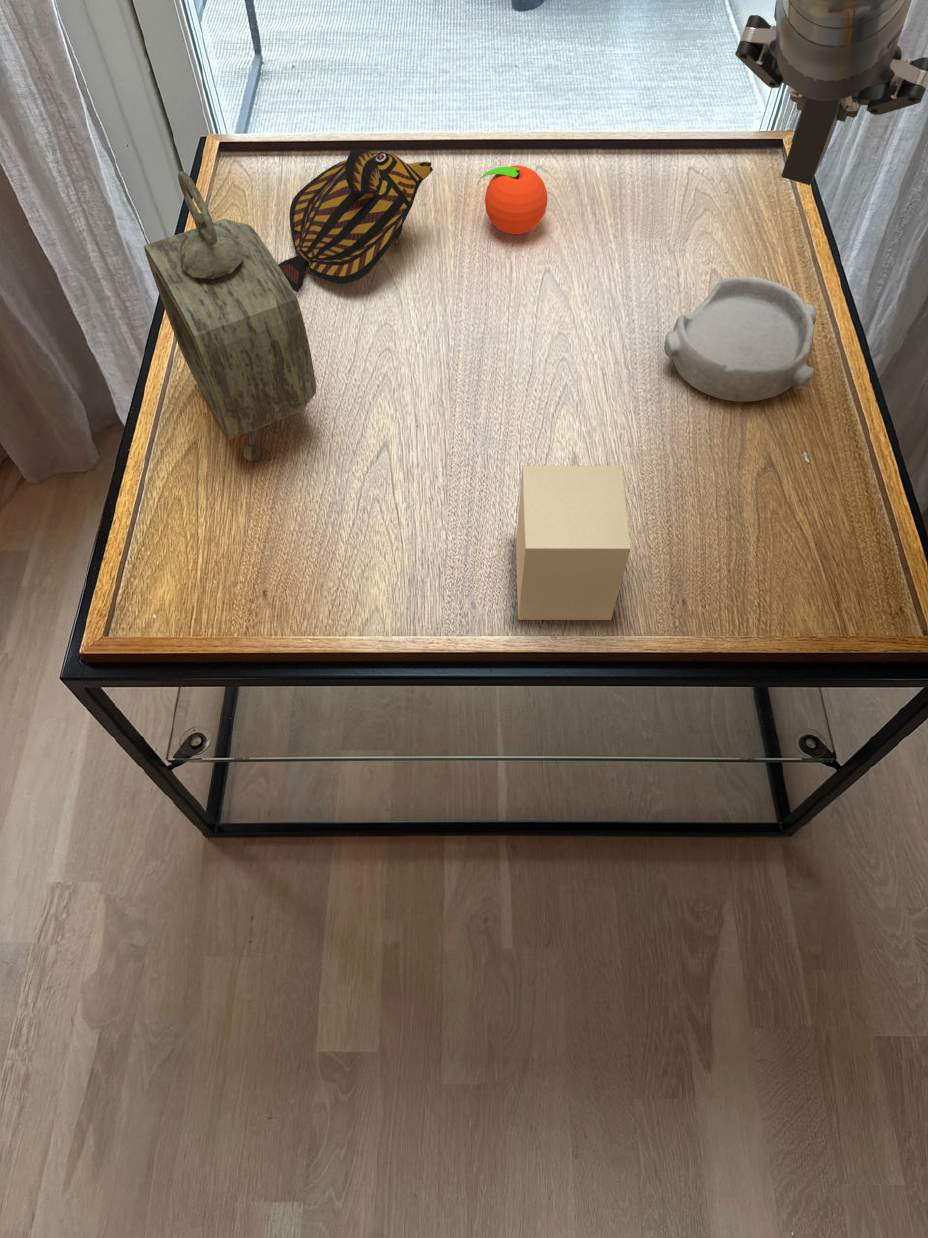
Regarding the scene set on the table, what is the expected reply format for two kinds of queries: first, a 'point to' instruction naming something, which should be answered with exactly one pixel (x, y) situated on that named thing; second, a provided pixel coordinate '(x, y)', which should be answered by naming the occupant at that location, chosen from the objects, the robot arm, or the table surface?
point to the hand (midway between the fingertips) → (825, 101)
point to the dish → (745, 341)
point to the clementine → (515, 199)
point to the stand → (571, 542)
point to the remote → (810, 140)
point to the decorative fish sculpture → (351, 216)
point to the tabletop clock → (234, 321)
